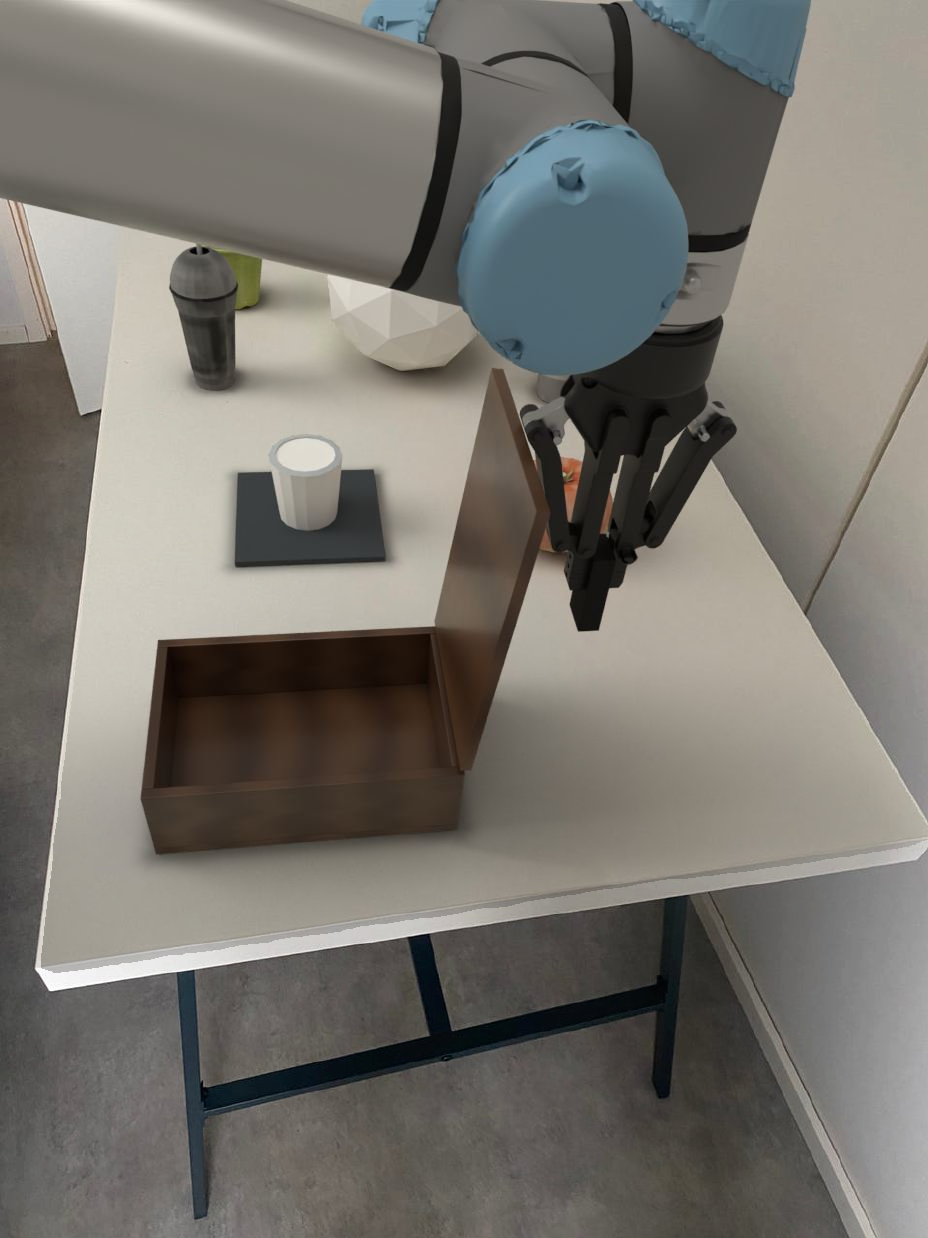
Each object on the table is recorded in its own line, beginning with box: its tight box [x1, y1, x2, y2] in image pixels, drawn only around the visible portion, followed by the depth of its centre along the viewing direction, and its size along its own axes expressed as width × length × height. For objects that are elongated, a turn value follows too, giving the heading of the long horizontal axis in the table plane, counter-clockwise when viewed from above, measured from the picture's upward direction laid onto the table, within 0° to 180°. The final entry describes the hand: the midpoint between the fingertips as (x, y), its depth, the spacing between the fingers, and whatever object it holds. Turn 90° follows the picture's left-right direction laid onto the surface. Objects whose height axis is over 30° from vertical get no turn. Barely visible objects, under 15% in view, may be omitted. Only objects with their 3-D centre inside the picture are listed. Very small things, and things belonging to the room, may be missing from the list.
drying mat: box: [234, 468, 386, 568], centre depth 96 cm, size 14×14×1 cm
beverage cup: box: [168, 244, 238, 391], centre depth 105 cm, size 7×7×20 cm
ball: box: [326, 274, 479, 372], centre depth 113 cm, size 19×20×20 cm
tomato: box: [533, 456, 614, 553], centre depth 94 cm, size 11×11×8 cm
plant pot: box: [194, 243, 263, 310], centre depth 124 cm, size 9×9×9 cm
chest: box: [140, 625, 466, 855], centre depth 72 cm, size 22×15×7 cm
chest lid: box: [433, 367, 551, 772], centre depth 64 cm, size 23×15×1 cm
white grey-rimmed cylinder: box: [268, 433, 343, 531], centre depth 93 cm, size 7×7×7 cm
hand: (583, 617), depth 68 cm, fingers closed
